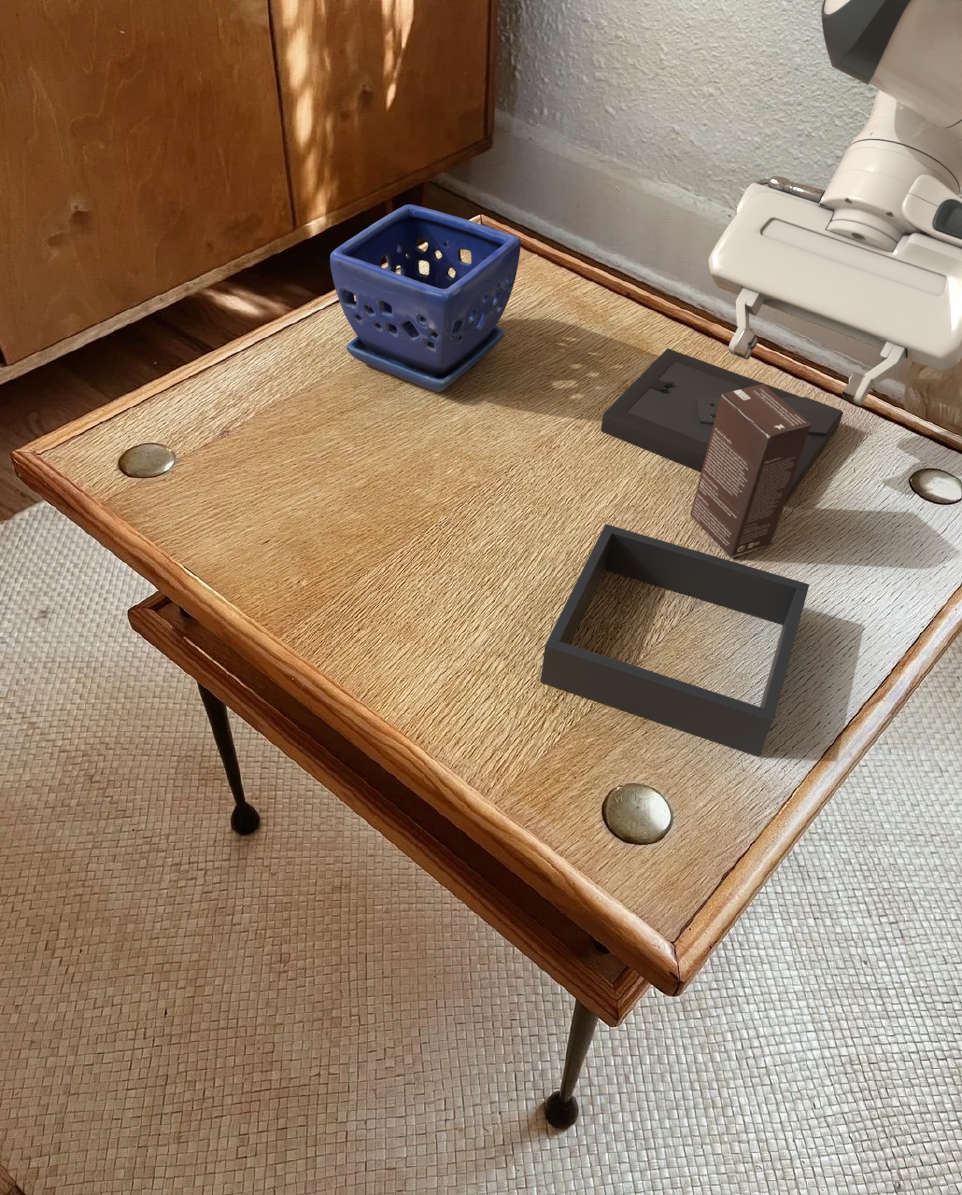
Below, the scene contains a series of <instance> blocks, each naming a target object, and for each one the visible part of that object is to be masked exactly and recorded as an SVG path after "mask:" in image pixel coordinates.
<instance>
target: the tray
mask: <svg viewBox="0 0 962 1195" xmlns="http://www.w3.org/2000/svg"><path fill="white" fill-rule="evenodd" d="M606 571H608V572H610V573H613V574H617V575H620V576H623V577H627V578H630V579H633V580H637V581H639V582H643V583H646V584H650V585H652V586H656V587H659V588H662V589H665V590H669V591H672V592H675V593H679V594H682V595H685V596H688V597H691V598H694V599H695V598H696V599H698V600H702V601H705V602H708V603H711V604H715V605H717V606H720V607H724V608H727V609H731V610H733V611H736V612H741V613H743V614H747V615H750V616H754V617H756V618H759V619H763V620H767V621H770V622H773V623H776V624H779V625H782V627H781V630H780V634H779V637H778V641H777V645H776V648H775V652H774V655H773V659H772V663H771V666H770V670H769V673H768V677H767V681H766V684H765V687H764V691H763V694H762V698H761V701H760V706H758V705H755V704H752V703H749V702H746V701H743V700H739V699H736V698H734V697H731V696H727V695H725V694H722V693H719V692H716V691H713V690H709V689H706V688H703V687H700V686H697V685H695V684H691V683H688V682H685V681H681V680H679V679H676V678H674V677H670V676H667V675H664V674H661V673H657V672H655V671H651V670H650V669H646V668H643V667H640V666H636V665H633V664H631V663H627V662H624V661H621V660H618V659H615V658H612V657H610V656H606V655H604V654H600V653H597V652H595V651H594V652H593V651H591V650H588V649H585V648H582V647H578V646H575V645H572V642H573V641H574V638H575V636H576V634H577V632H578V629H579V627H580V625H581V623H582V621H583V619H584V617H585V615H586V612H587V610H588V608H589V606H590V605H591V602H592V601H593V598H594V596H595V594H596V592H597V589H598V588H599V585H600V583H601V581H602V579H603V577H604V575H605V572H606ZM809 588H810V584H809V583H807V582H803V581H800V580H796V579H792V578H789V577H786V576H783V575H779V574H777V573H773V572H769V571H766V570H763V569H759V568H756V567H752V566H749V565H746V564H743V563H739V562H737V561H736V562H735V561H733V560H728V559H725V558H723V557H719V556H715V555H712V554H708V553H705V552H702V551H699V550H695V549H691V548H689V547H684V546H682V545H678V544H674V543H671V542H668V541H665V540H661V539H659V538H655V537H651V536H648V535H644V534H642V533H639V532H635V531H631V530H627V529H624V528H621V527H618V526H614V525H611V524H607V523H605V524H604V526H603V527H602V530H601V532H600V533H599V536H598V538H597V539H596V542H595V544H594V546H593V548H592V550H591V552H590V554H589V556H588V558H587V560H586V563H584V566H583V568H582V570H581V572H580V574H579V576H578V578H577V579H576V582H575V585H574V586H573V588H572V590H571V592H570V594H569V596H568V598H567V599H566V602H565V604H564V606H563V608H562V610H561V611H560V613H559V616H558V618H557V621H556V622H555V625H554V626H553V628H552V631H551V632H550V634H549V637H548V638H547V641H546V642H545V645H544V650H543V651H544V652H543V658H542V665H541V673H540V680H539V681H540V684H543V685H546V686H550V687H553V688H556V689H559V690H562V691H563V692H568V693H570V694H573V695H576V696H579V697H582V698H585V699H588V700H591V701H593V702H595V703H599V704H602V705H604V706H605V705H606V706H607V707H611V708H614V709H617V710H620V711H623V712H626V713H628V714H631V715H634V716H637V717H641V718H644V719H646V720H649V721H652V722H654V723H658V724H661V725H664V726H667V727H670V728H673V729H675V730H678V731H681V732H685V733H687V734H690V735H694V736H696V737H699V738H701V739H704V740H705V739H706V740H708V741H710V742H714V743H717V744H720V745H723V746H725V747H729V748H732V749H735V750H738V751H739V752H742V753H743V752H744V753H746V754H749V755H752V756H755V757H760V754H761V752H762V750H763V747H764V744H765V743H766V740H767V737H768V735H769V732H770V729H771V728H772V725H773V722H774V721H775V720H774V719H775V716H776V712H777V708H778V704H779V701H780V697H781V692H782V689H783V687H784V686H783V685H784V682H785V678H786V674H787V670H788V667H789V664H790V663H789V662H790V660H791V656H792V652H793V647H794V644H795V641H796V637H797V633H798V629H799V625H800V622H801V617H802V614H803V610H804V607H805V603H806V600H807V595H808V592H809Z"/></svg>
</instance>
